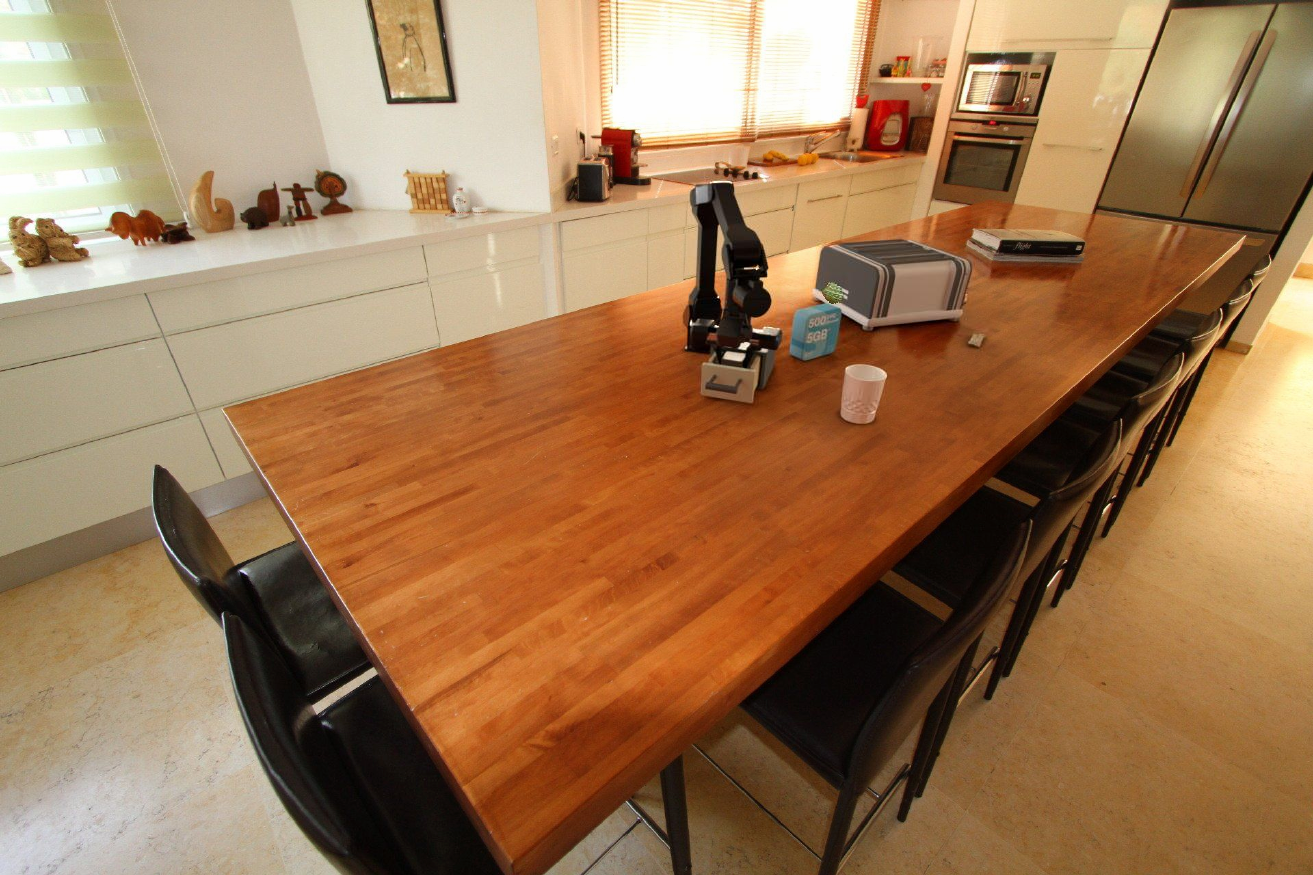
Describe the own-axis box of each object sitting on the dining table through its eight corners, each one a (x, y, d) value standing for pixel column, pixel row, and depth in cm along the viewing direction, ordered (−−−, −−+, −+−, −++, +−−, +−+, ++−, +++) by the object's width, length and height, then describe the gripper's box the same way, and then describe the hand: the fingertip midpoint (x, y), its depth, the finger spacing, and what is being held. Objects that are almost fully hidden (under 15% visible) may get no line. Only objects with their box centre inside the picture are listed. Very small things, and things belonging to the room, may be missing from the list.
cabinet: (762, 390, 132) (766, 352, 128) (708, 381, 136) (711, 345, 131) (773, 366, 143) (777, 331, 139) (723, 359, 147) (726, 325, 142)
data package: (801, 362, 146) (807, 315, 140) (788, 356, 149) (794, 310, 143) (835, 352, 151) (843, 307, 145) (822, 346, 155) (829, 302, 148)
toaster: (971, 320, 172) (990, 258, 163) (865, 332, 164) (878, 267, 154) (905, 290, 198) (917, 234, 188) (810, 298, 189) (818, 241, 180)
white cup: (856, 429, 118) (865, 383, 112) (829, 412, 124) (836, 368, 118) (885, 420, 121) (895, 376, 116) (857, 404, 127) (866, 361, 122)
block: (725, 369, 132) (726, 351, 129) (745, 372, 130) (746, 353, 128) (720, 377, 128) (721, 358, 126) (740, 381, 127) (742, 361, 124)
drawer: (745, 415, 120) (748, 383, 117) (692, 406, 124) (694, 375, 120) (763, 379, 135) (766, 350, 131) (715, 372, 138) (717, 343, 135)
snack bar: (980, 346, 153) (969, 340, 154) (976, 351, 154) (965, 345, 155) (986, 334, 160) (976, 329, 161) (982, 339, 161) (972, 333, 162)
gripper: (683, 307, 117) (680, 379, 125) (777, 319, 111) (768, 393, 119) (699, 291, 126) (696, 359, 134) (786, 302, 120) (778, 371, 128)
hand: (733, 370), depth 129 cm, fingers closed on block, 4 cm apart
